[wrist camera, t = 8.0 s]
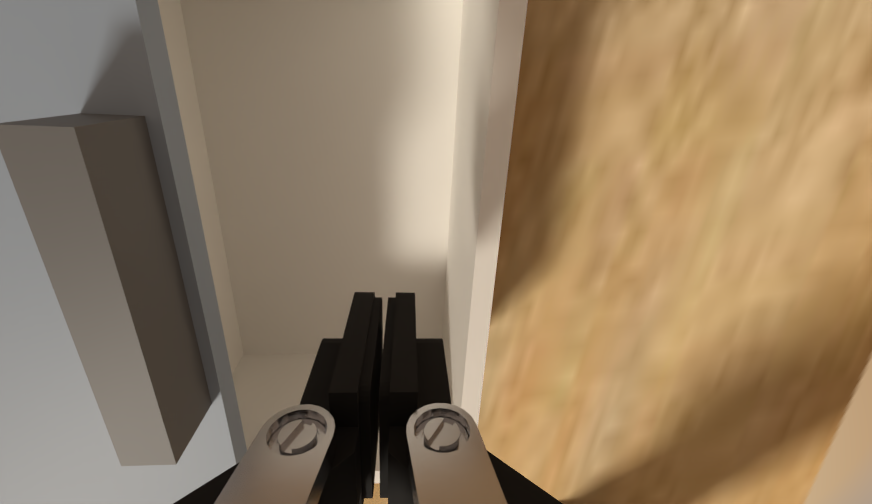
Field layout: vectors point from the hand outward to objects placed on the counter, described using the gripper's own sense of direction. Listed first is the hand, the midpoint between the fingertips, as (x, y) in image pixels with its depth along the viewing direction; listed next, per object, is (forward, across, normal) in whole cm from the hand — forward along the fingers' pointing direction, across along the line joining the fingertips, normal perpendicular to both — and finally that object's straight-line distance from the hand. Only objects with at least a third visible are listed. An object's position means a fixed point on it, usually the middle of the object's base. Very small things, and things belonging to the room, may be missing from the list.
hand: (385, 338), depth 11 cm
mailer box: (+12, +3, -1) cm, 13 cm away
